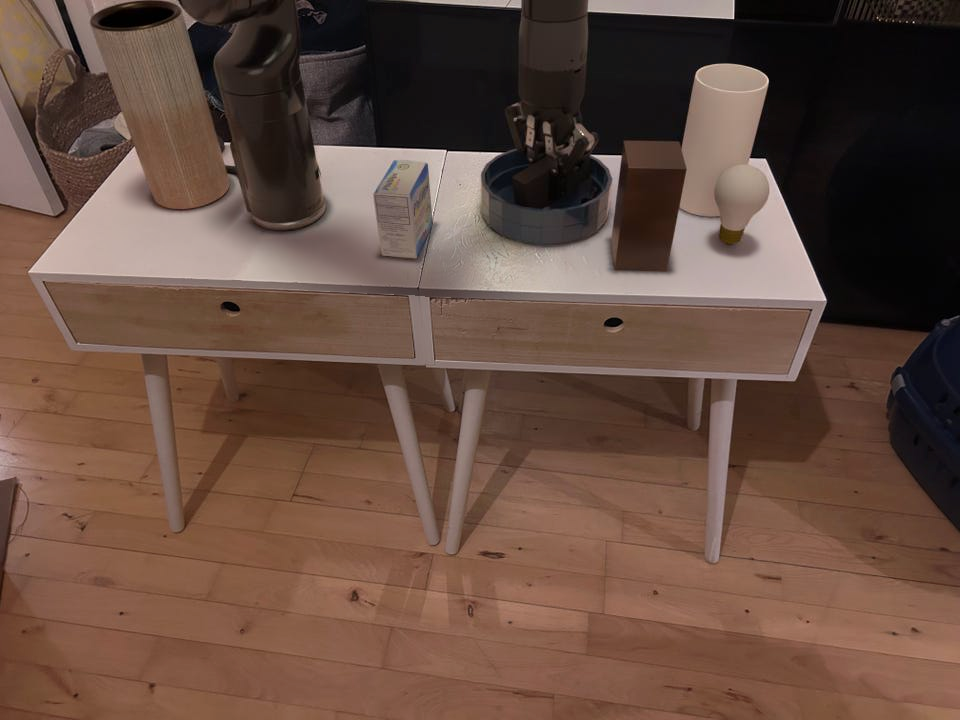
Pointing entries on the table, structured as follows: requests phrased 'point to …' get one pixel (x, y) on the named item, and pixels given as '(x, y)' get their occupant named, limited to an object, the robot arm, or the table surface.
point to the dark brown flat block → (542, 183)
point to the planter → (162, 101)
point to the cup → (719, 130)
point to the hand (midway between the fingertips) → (547, 194)
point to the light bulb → (739, 200)
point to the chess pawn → (591, 196)
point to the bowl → (555, 220)
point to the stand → (647, 204)
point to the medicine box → (403, 208)
